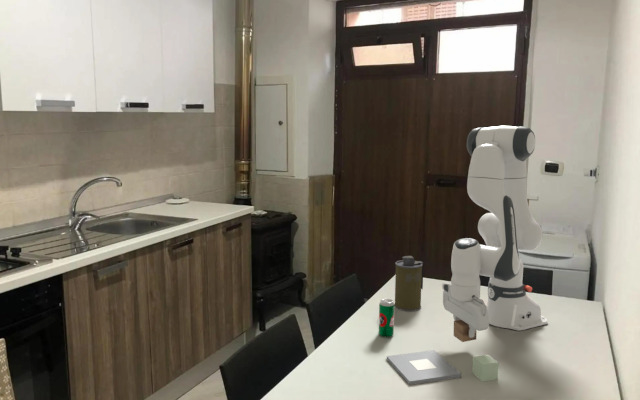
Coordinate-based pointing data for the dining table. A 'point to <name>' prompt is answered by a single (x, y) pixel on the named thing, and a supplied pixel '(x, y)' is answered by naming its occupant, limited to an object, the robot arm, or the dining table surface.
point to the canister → (408, 284)
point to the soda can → (386, 318)
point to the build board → (423, 367)
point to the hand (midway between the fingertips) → (464, 332)
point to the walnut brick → (462, 331)
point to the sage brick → (485, 367)
